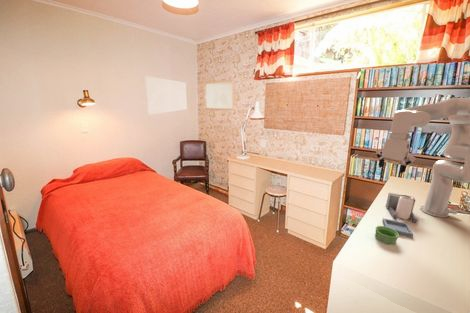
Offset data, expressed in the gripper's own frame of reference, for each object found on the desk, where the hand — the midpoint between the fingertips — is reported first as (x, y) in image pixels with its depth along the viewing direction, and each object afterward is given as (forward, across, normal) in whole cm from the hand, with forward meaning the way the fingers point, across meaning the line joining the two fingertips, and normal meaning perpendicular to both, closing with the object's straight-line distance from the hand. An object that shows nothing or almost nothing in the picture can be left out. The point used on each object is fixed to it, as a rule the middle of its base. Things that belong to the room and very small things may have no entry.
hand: (390, 169), depth 114 cm
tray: (+28, -9, +2) cm, 30 cm away
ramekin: (+29, -10, +17) cm, 35 cm away
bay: (+29, -3, -18) cm, 34 cm away
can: (+29, -5, -16) cm, 33 cm away
